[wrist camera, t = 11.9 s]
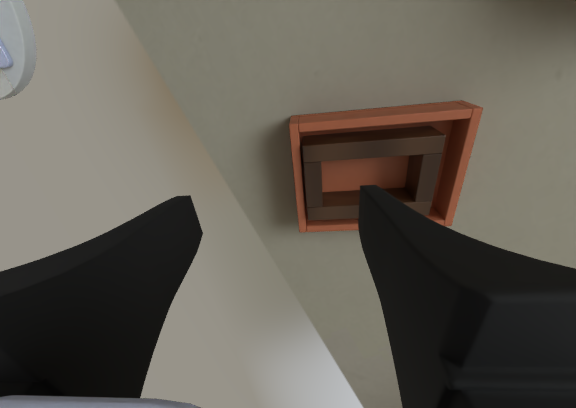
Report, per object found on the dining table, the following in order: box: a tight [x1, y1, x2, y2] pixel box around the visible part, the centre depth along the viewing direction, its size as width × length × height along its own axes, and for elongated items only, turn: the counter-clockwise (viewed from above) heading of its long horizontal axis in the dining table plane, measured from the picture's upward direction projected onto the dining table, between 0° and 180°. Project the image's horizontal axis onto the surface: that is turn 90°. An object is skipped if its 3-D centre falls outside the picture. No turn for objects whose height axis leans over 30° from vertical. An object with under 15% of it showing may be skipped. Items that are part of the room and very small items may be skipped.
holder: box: [289, 101, 483, 232], centre depth 20 cm, size 12×9×2 cm
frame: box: [303, 126, 446, 220], centre depth 19 cm, size 9×6×2 cm, turn 96°
